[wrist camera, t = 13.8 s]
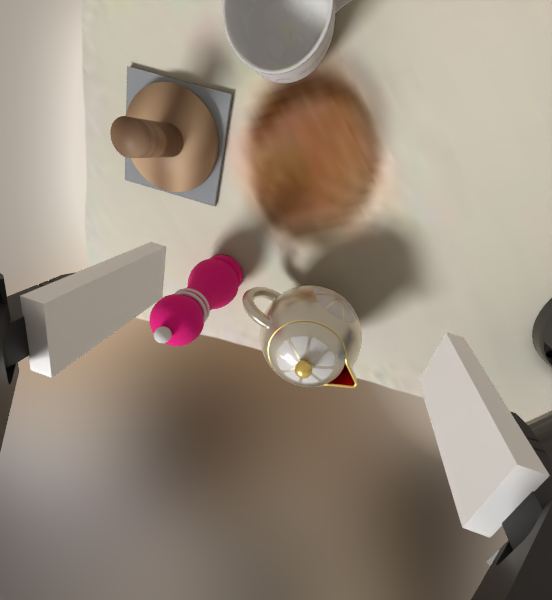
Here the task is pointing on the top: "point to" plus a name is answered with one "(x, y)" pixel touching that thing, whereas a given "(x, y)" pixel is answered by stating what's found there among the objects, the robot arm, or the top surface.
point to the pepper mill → (196, 301)
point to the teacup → (280, 34)
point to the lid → (168, 137)
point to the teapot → (308, 335)
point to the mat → (220, 111)
